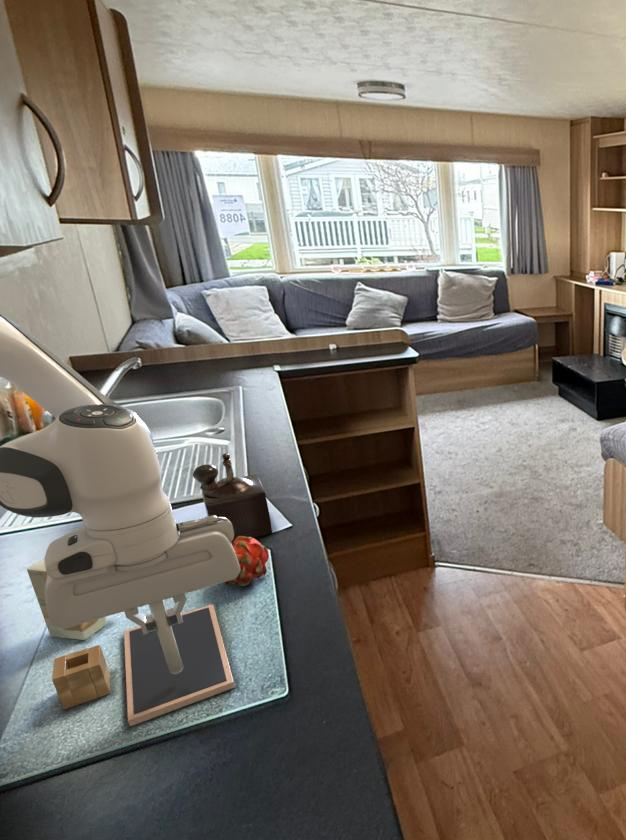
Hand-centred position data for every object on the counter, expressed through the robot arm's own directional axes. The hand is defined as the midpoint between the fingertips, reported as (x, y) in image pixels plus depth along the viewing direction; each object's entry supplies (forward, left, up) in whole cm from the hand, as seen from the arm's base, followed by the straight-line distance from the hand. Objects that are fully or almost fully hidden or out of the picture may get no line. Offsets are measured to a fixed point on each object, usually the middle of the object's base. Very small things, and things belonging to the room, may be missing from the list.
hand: (163, 626), depth 85 cm
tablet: (0, +7, -10) cm, 12 cm away
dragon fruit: (+11, +25, -10) cm, 29 cm away
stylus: (0, 0, -8) cm, 8 cm away
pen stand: (-11, +7, -10) cm, 16 cm away
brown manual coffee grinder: (+13, +42, -10) cm, 45 cm away
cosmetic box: (-12, +24, -10) cm, 29 cm away
